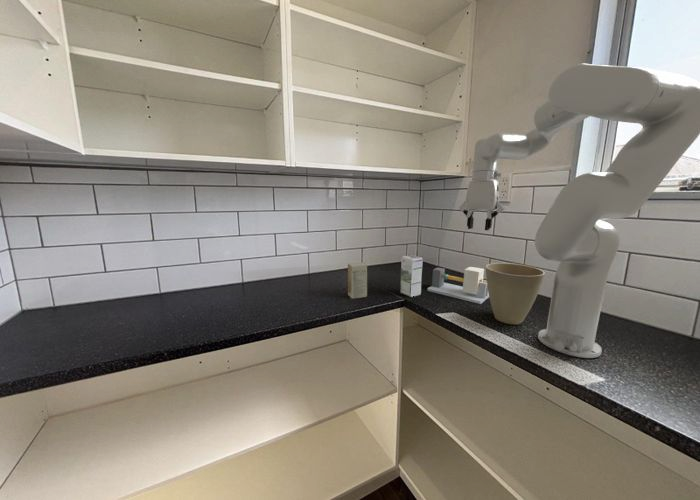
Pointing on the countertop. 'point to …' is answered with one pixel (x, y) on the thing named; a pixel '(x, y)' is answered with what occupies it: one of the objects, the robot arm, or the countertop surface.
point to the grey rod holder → (456, 287)
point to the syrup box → (411, 275)
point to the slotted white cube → (472, 280)
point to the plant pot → (512, 290)
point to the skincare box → (357, 280)
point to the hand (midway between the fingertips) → (478, 228)
